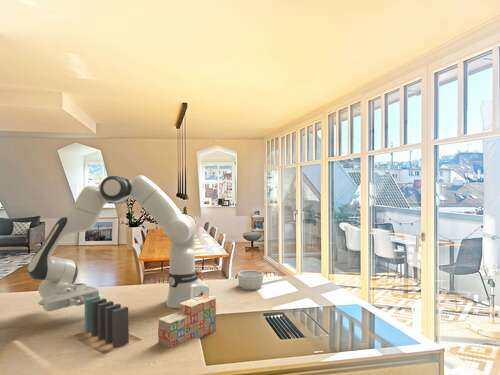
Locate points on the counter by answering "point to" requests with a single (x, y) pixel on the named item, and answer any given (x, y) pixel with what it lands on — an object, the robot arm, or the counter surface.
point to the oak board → (101, 342)
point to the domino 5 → (120, 327)
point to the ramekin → (250, 279)
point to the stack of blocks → (188, 321)
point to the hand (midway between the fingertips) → (81, 302)
